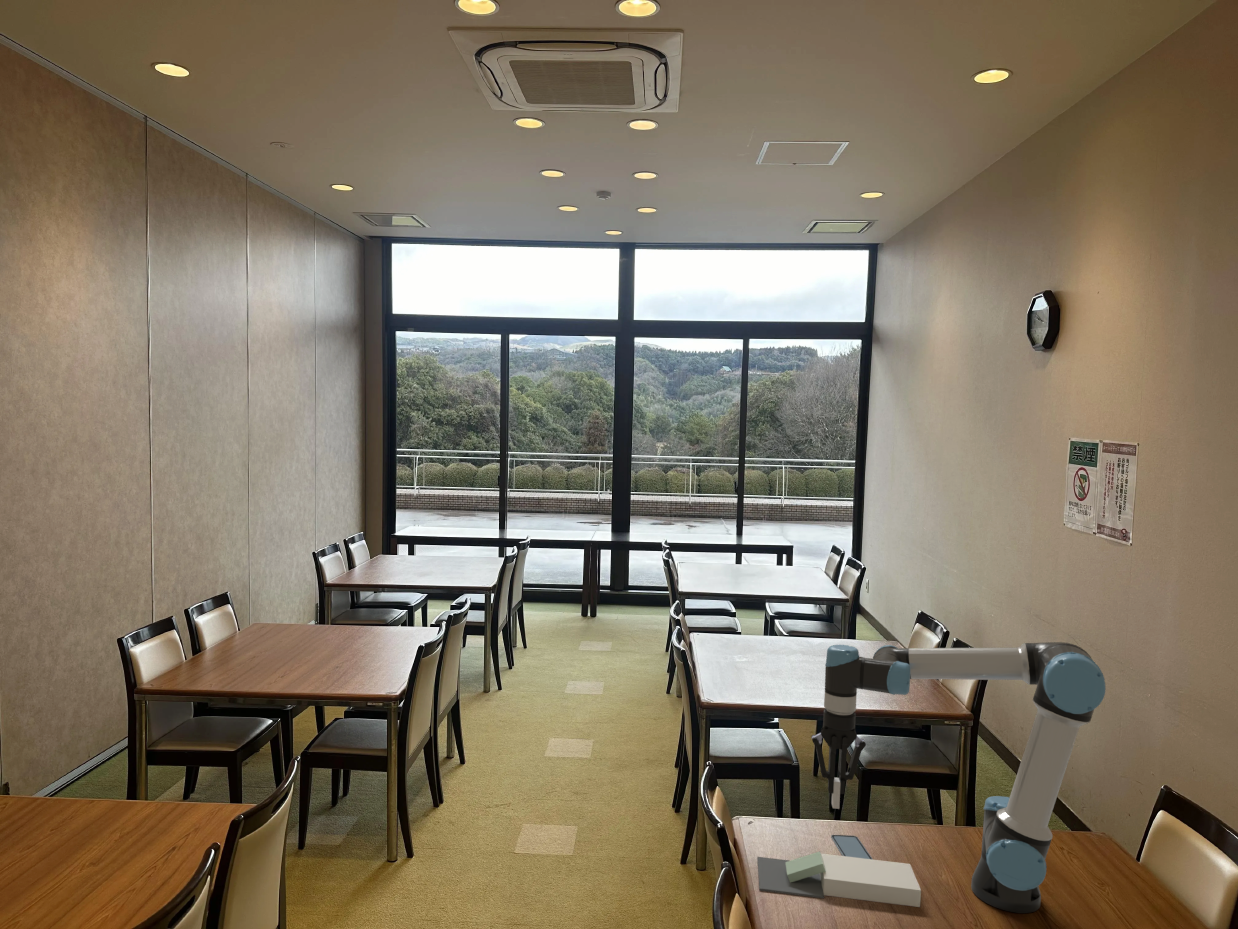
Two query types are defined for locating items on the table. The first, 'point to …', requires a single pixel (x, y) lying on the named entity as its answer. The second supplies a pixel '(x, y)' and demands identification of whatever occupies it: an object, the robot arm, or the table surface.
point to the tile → (805, 867)
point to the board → (870, 880)
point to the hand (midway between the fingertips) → (835, 806)
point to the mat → (786, 879)
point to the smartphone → (850, 846)
